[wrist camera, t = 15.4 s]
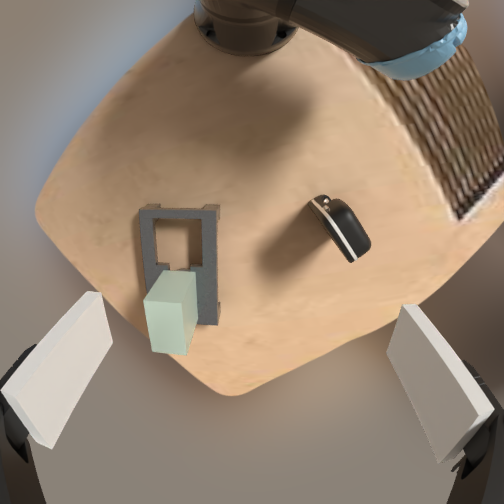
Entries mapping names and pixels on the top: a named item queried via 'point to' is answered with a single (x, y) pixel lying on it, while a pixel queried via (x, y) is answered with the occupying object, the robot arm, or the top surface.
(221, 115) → the top surface
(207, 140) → the top surface
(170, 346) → the pale green boxy piece
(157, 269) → the keyhole plate
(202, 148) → the top surface
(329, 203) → the battery charger
